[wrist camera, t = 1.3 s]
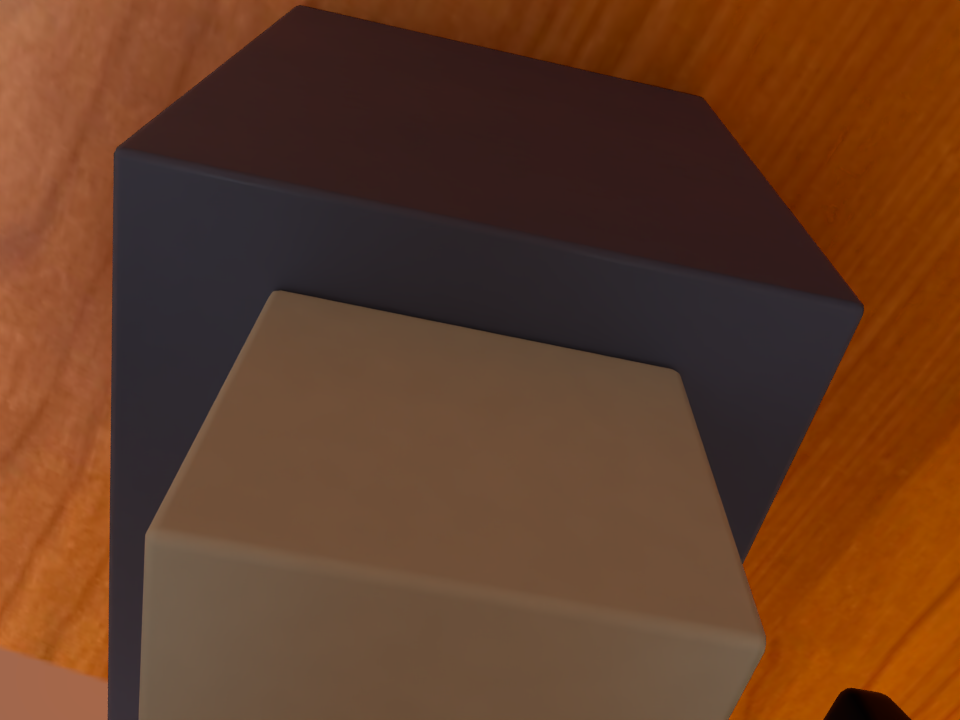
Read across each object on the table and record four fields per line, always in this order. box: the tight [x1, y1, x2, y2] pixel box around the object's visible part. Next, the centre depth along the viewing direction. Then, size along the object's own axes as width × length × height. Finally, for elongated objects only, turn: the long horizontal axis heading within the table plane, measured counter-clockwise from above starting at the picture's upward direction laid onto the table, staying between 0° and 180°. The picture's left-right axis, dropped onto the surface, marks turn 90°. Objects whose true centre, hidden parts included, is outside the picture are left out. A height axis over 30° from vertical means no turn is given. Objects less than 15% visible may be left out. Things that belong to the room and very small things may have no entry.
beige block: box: [139, 290, 766, 720], centre depth 9 cm, size 6×4×4 cm, turn 168°
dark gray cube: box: [108, 5, 864, 720], centre depth 14 cm, size 8×7×8 cm
